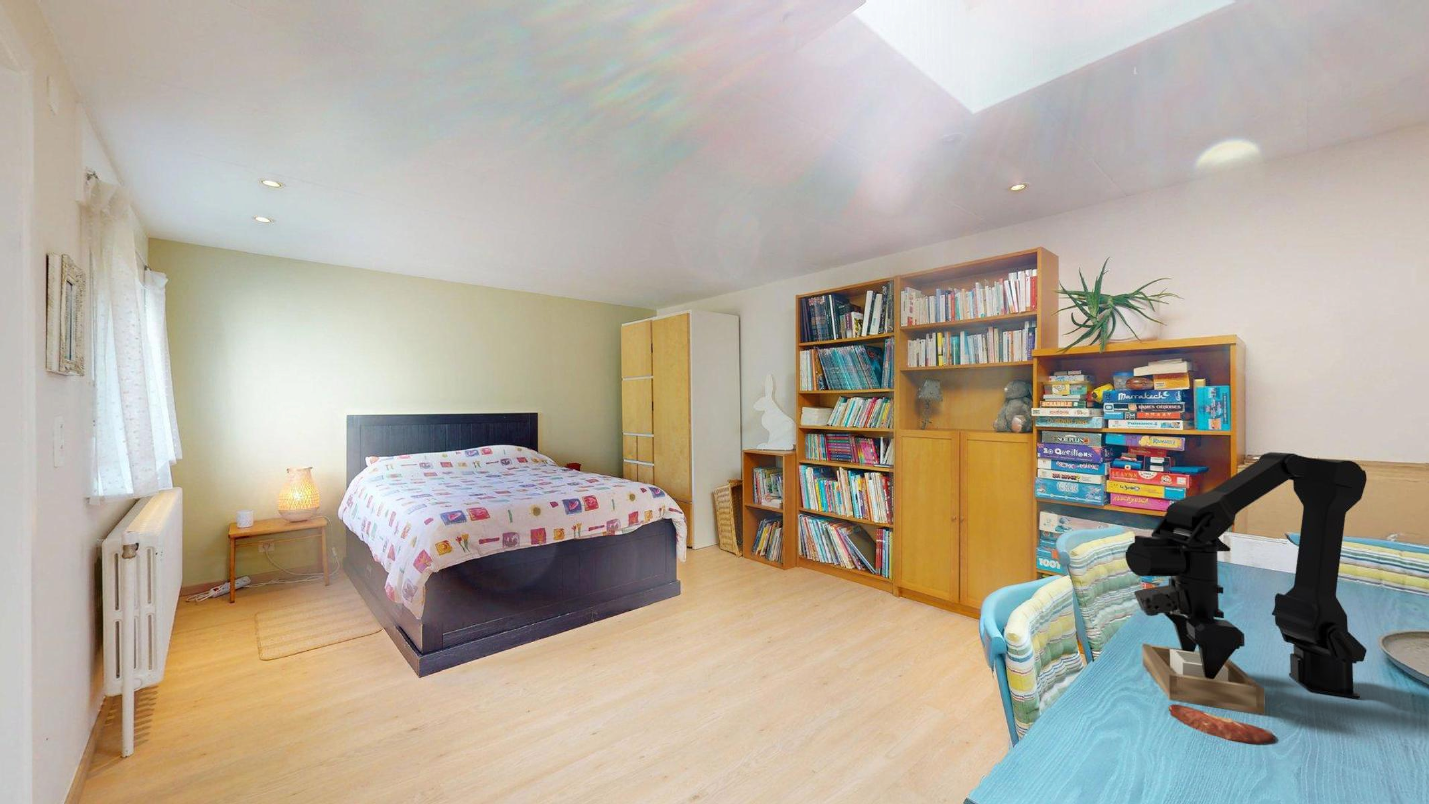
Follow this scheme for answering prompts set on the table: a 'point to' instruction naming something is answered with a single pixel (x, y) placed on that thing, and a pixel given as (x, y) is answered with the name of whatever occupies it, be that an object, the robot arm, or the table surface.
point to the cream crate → (1192, 665)
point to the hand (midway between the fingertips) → (1197, 666)
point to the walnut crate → (1204, 684)
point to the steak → (1221, 726)
